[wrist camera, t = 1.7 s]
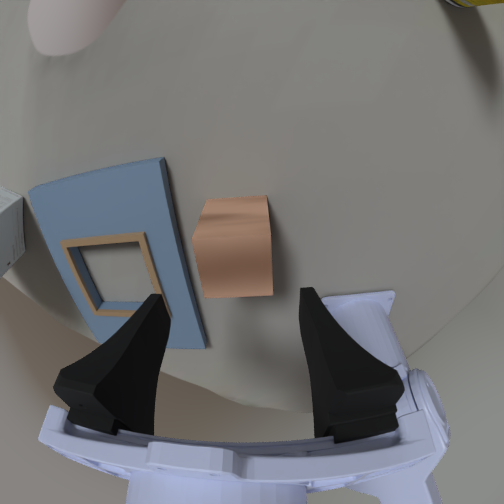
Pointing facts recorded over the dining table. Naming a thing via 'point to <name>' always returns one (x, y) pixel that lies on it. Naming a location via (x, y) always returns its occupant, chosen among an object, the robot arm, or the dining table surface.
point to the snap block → (234, 247)
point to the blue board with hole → (117, 231)
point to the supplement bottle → (473, 2)
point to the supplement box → (10, 229)
